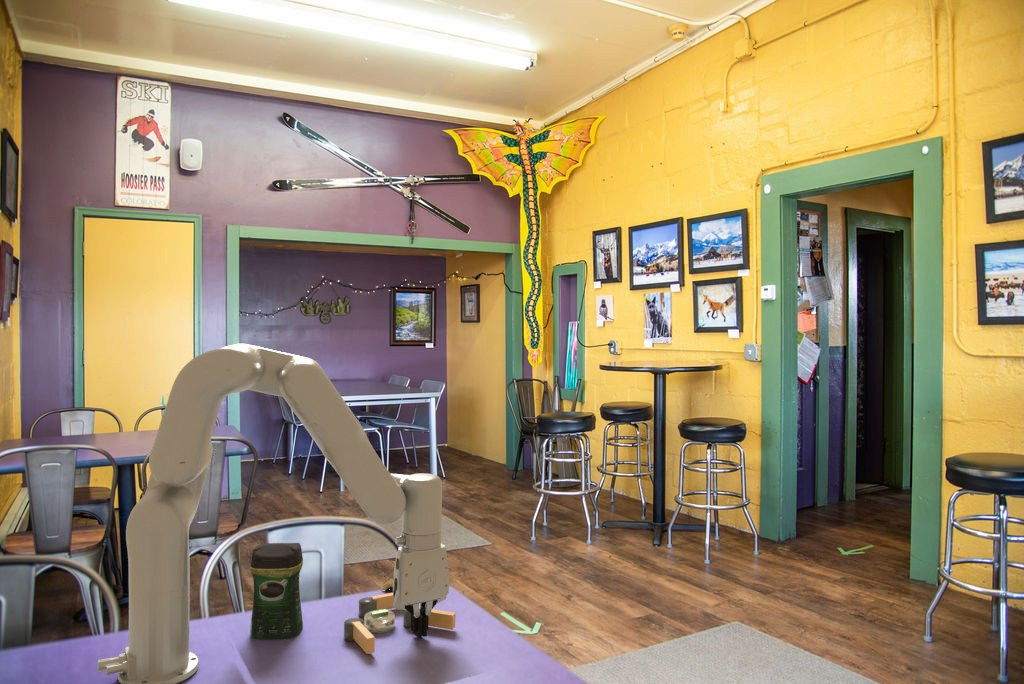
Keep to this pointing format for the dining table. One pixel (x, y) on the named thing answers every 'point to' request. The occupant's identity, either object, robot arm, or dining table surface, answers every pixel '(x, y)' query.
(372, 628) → the level plate
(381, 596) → the knob back
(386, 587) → the pastry
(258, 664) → the dining table surface
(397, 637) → the dining table surface
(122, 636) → the dining table surface
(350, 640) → the knob left
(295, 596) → the coffee jar
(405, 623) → the knob right
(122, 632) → the dining table surface
